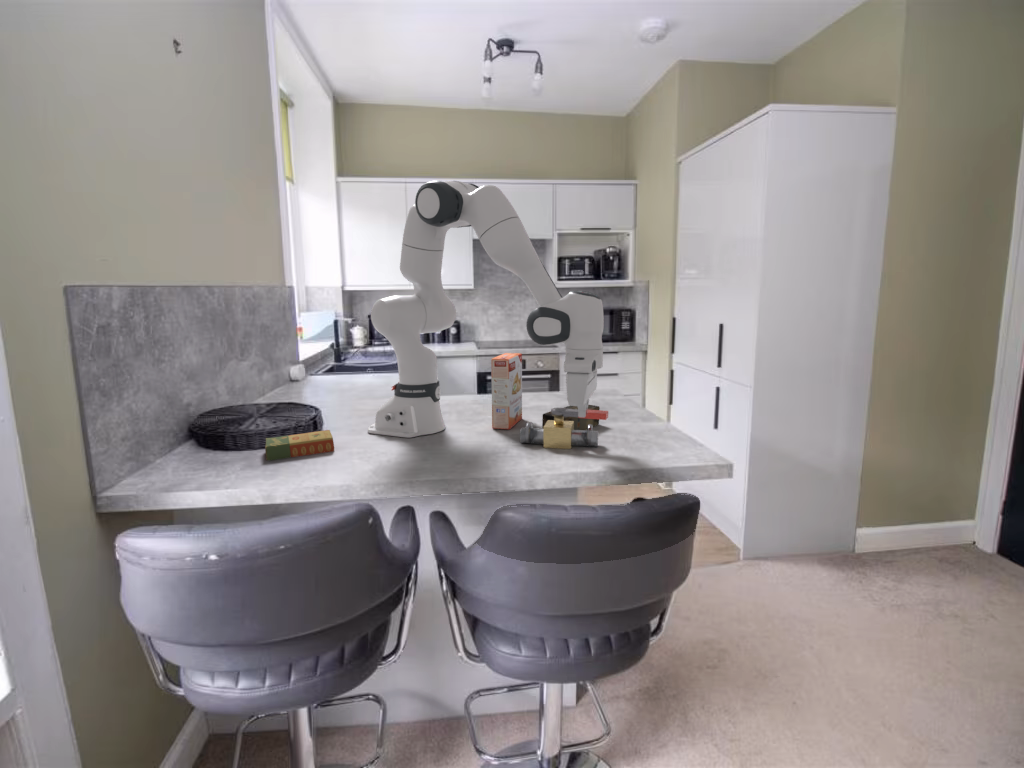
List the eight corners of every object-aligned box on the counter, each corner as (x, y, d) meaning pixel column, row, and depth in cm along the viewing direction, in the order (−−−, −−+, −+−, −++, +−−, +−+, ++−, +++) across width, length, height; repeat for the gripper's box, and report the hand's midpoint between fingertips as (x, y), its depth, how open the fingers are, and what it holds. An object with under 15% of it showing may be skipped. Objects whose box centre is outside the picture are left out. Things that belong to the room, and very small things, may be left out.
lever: (549, 416, 132) (549, 410, 132) (553, 412, 136) (553, 406, 136) (605, 420, 127) (605, 414, 127) (608, 416, 131) (608, 410, 130)
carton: (334, 452, 133) (333, 436, 132) (266, 462, 126) (264, 446, 125) (331, 443, 140) (330, 428, 139) (266, 452, 134) (264, 437, 133)
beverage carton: (600, 425, 153) (601, 403, 152) (564, 440, 139) (564, 417, 138) (578, 421, 158) (578, 400, 157) (540, 435, 144) (540, 412, 143)
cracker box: (511, 430, 149) (509, 358, 145) (491, 429, 150) (489, 358, 146) (523, 418, 162) (522, 352, 158) (505, 417, 163) (503, 352, 160)
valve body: (518, 446, 134) (518, 417, 132) (524, 438, 140) (523, 411, 139) (596, 450, 129) (597, 420, 128) (598, 442, 136) (598, 413, 134)
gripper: (578, 353, 133) (578, 405, 136) (561, 365, 114) (561, 425, 117) (603, 354, 132) (601, 407, 134) (590, 367, 112) (588, 428, 115)
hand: (582, 416), depth 126 cm, fingers closed
